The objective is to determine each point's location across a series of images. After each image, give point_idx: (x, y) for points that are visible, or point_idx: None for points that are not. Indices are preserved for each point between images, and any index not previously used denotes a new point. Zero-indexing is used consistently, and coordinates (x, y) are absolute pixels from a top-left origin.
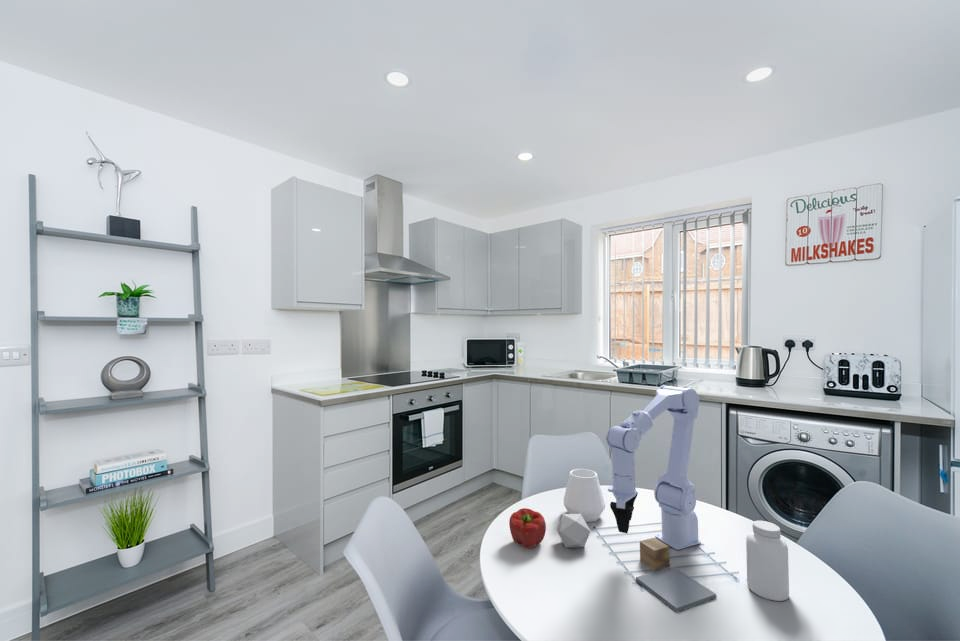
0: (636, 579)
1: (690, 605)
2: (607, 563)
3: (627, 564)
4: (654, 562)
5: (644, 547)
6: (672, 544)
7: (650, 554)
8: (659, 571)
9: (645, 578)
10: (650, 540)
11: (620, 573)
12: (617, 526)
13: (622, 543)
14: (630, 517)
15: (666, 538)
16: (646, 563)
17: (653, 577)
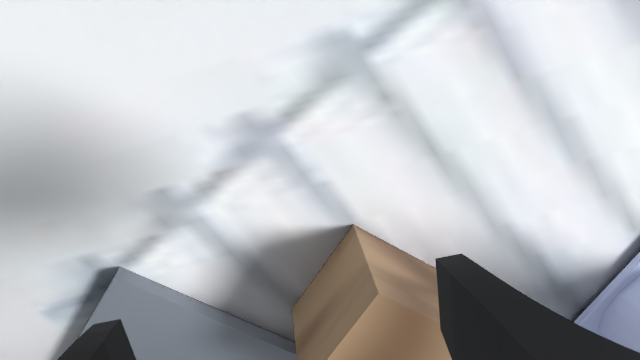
0: (115, 275)
1: None
2: (186, 70)
3: (259, 180)
4: (296, 336)
5: (347, 312)
6: (594, 324)
7: (315, 337)
8: (261, 349)
9: (140, 318)
10: (430, 340)
11: (129, 177)
12: (64, 354)
13: (510, 73)
14: (450, 352)
15: (629, 305)
16: (324, 267)
17: (181, 343)
